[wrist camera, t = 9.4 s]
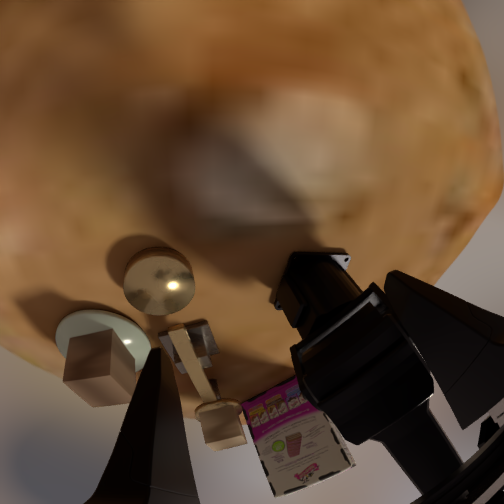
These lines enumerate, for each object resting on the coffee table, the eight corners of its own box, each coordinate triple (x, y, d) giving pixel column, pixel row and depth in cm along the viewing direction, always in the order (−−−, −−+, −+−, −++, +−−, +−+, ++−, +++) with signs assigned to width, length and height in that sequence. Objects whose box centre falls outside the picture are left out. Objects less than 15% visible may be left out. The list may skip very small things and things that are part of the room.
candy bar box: (254, 409, 41) (286, 495, 28) (239, 403, 38) (272, 498, 25) (314, 378, 40) (358, 466, 27) (303, 369, 37) (352, 467, 24)
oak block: (232, 404, 28) (241, 435, 25) (238, 415, 30) (247, 443, 27) (198, 412, 27) (205, 443, 24) (207, 423, 30) (214, 451, 26)
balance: (114, 258, 20) (106, 301, 16) (182, 238, 20) (188, 278, 17) (196, 395, 34) (203, 426, 30) (236, 385, 34) (245, 415, 31)
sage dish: (148, 307, 23) (148, 315, 22) (153, 369, 28) (153, 377, 27) (46, 303, 20) (43, 311, 19) (71, 367, 25) (70, 374, 24)
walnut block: (112, 328, 22) (110, 375, 18) (135, 359, 25) (137, 401, 21) (69, 337, 21) (62, 381, 17) (94, 366, 24) (92, 407, 20)
